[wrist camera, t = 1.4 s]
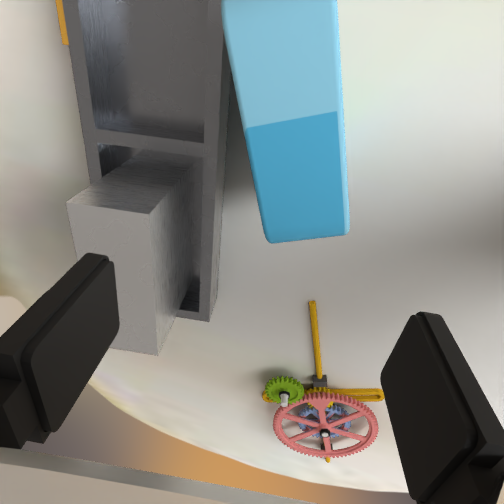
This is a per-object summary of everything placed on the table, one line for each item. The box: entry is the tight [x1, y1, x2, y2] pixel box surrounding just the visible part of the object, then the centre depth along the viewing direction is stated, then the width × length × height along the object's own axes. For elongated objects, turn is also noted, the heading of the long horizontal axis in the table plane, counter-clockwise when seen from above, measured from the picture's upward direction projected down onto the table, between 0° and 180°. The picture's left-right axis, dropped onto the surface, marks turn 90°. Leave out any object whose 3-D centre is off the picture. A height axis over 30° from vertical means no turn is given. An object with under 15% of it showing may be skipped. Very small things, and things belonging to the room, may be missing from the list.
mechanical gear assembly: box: [262, 301, 384, 463], centre depth 41 cm, size 30×4×15 cm
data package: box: [221, 0, 350, 243], centre depth 20 cm, size 12×4×12 cm, turn 11°
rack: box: [56, 0, 231, 356], centre depth 23 cm, size 11×33×11 cm, turn 174°
